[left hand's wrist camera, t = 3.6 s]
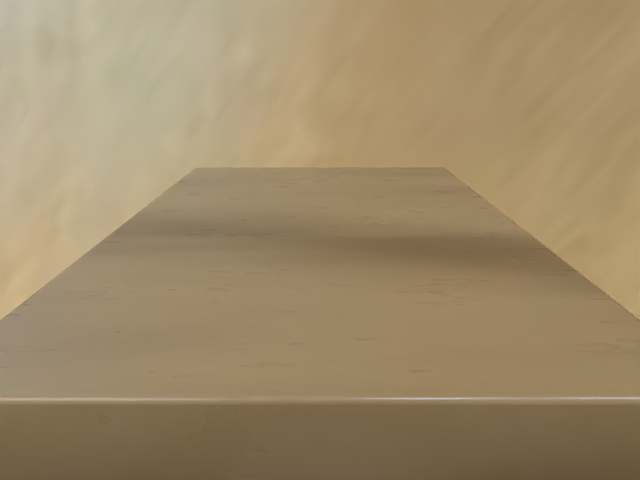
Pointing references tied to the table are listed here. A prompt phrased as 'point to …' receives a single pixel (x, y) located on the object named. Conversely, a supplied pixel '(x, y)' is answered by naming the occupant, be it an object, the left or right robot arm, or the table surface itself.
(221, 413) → the box
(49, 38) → the table surface
